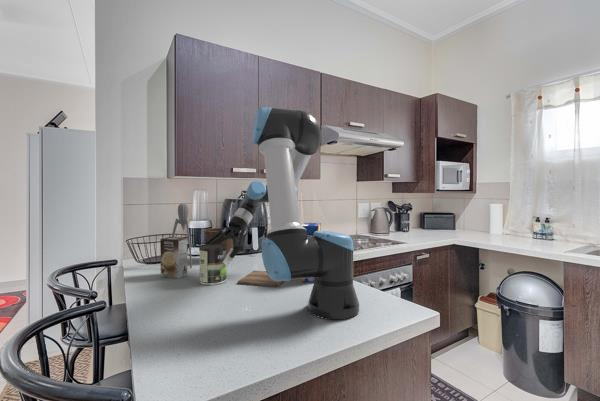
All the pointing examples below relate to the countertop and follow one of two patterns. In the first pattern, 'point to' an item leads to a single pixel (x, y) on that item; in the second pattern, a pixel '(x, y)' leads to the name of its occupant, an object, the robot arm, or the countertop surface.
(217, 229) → the plant pot
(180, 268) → the coffee box
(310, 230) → the beverage box
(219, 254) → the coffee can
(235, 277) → the countertop surface
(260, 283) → the walnut board
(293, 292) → the countertop surface
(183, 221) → the citrus juicer
